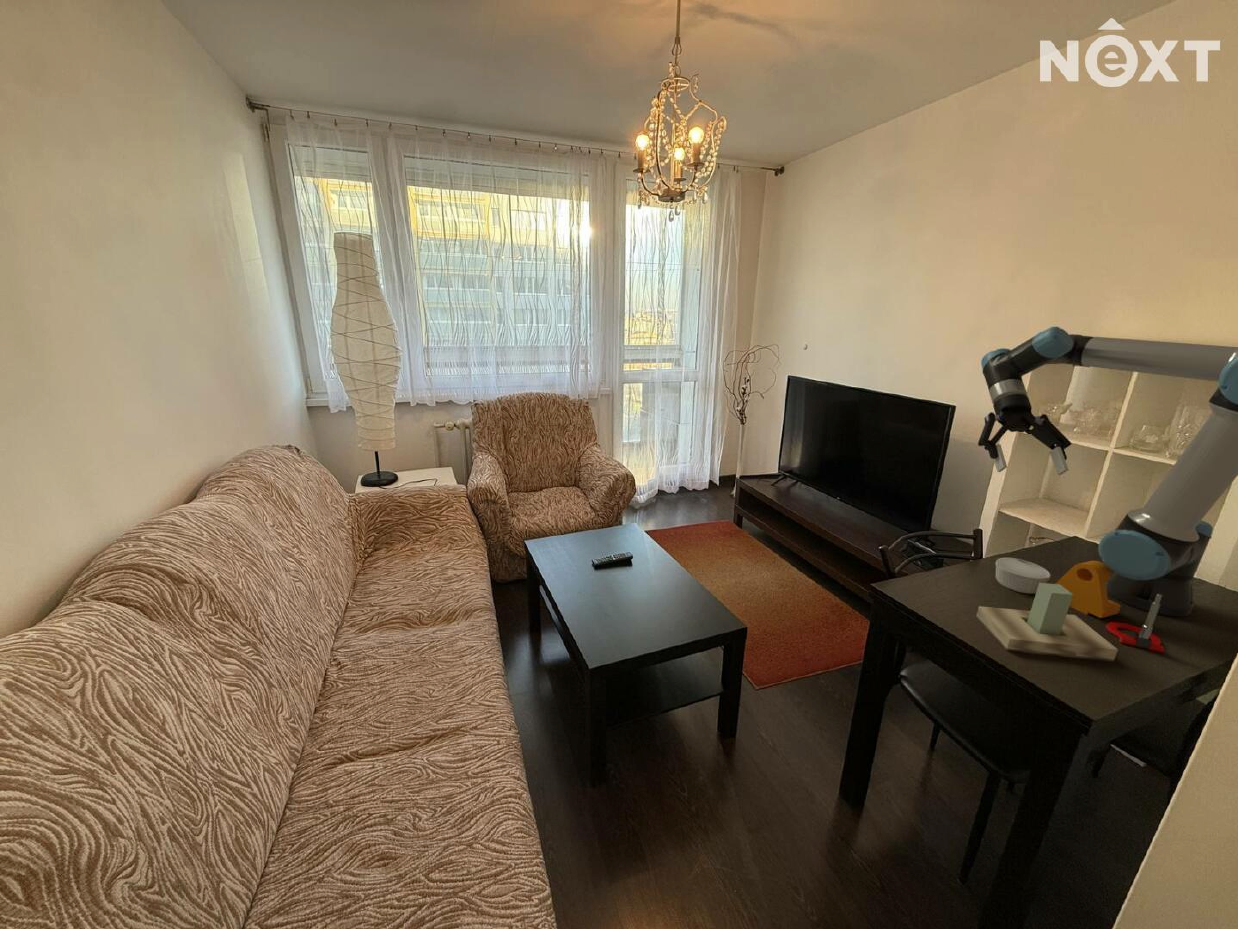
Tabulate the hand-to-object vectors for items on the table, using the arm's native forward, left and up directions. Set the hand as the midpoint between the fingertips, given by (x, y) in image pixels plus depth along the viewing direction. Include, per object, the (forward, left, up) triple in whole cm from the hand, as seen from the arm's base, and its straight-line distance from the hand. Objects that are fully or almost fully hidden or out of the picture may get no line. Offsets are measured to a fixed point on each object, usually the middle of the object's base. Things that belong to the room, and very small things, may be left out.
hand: (1032, 471), depth 119 cm
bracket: (-14, +8, -32) cm, 36 cm away
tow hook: (-16, +20, -32) cm, 41 cm away
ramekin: (-4, 0, -32) cm, 32 cm away
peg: (+5, +24, -31) cm, 40 cm away
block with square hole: (+5, +24, -31) cm, 40 cm away
